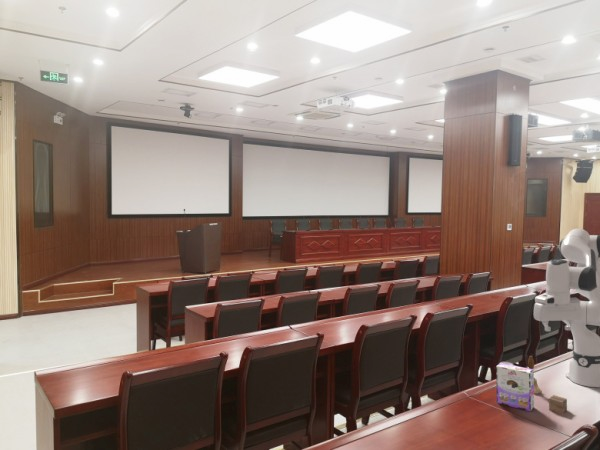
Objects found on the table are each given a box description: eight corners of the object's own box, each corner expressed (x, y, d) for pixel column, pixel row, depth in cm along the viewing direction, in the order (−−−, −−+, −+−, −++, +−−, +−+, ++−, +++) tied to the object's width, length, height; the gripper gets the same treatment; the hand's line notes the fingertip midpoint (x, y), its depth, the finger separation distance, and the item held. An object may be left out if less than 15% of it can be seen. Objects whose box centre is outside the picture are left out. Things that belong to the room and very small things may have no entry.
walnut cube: (553, 406, 184) (553, 395, 184) (566, 410, 180) (566, 398, 180) (549, 410, 181) (549, 398, 181) (562, 414, 177) (562, 402, 177)
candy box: (534, 407, 184) (534, 369, 183) (530, 412, 179) (530, 373, 179) (500, 398, 193) (500, 361, 192) (496, 402, 189) (495, 365, 188)
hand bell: (545, 393, 197) (544, 358, 196) (526, 393, 197) (526, 359, 196) (535, 386, 205) (535, 352, 205) (517, 386, 205) (517, 353, 205)
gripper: (574, 296, 188) (574, 327, 188) (531, 297, 185) (531, 329, 185) (585, 298, 181) (585, 331, 181) (541, 300, 178) (541, 333, 179)
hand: (557, 330), depth 183 cm, fingers open, 8 cm apart
